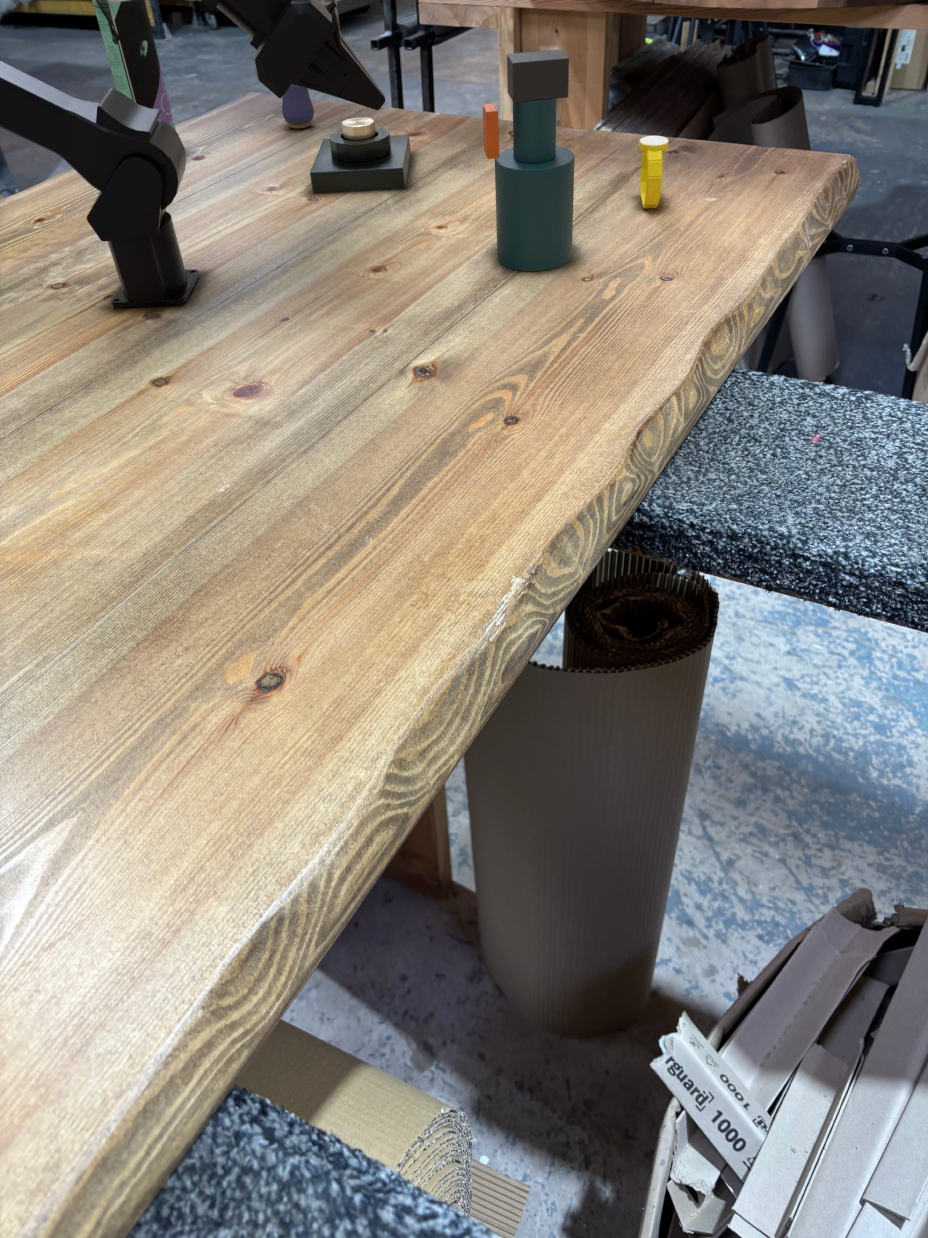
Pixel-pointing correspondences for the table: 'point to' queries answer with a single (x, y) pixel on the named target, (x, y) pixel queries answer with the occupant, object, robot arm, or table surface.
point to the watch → (651, 169)
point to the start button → (358, 129)
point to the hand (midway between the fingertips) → (382, 104)
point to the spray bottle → (535, 168)
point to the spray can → (133, 53)
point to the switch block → (361, 163)
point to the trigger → (491, 131)
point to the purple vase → (297, 107)
